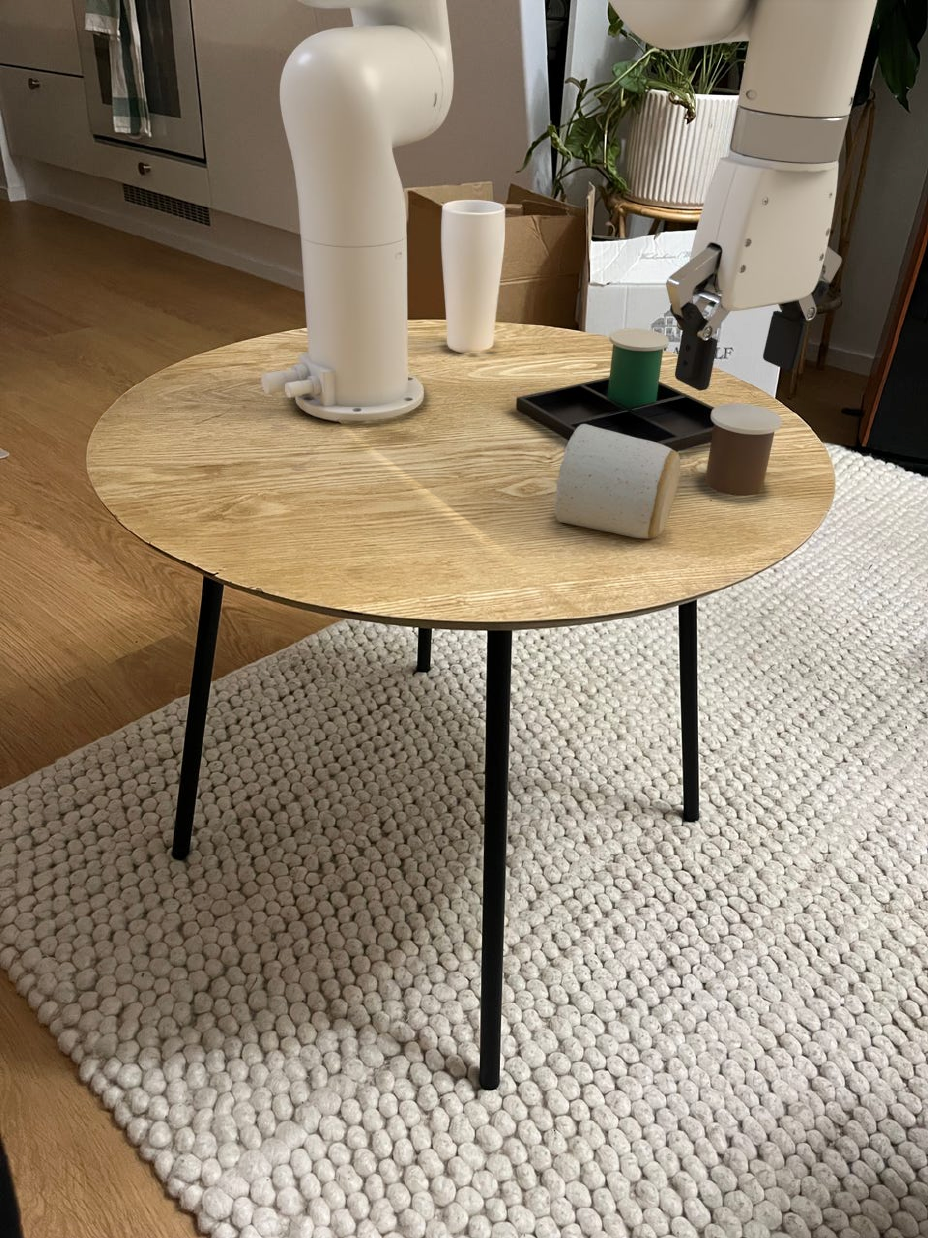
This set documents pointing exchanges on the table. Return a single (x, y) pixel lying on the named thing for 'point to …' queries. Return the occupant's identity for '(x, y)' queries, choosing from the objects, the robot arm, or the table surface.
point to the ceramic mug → (616, 483)
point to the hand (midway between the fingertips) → (736, 374)
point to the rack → (622, 414)
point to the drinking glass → (471, 271)
